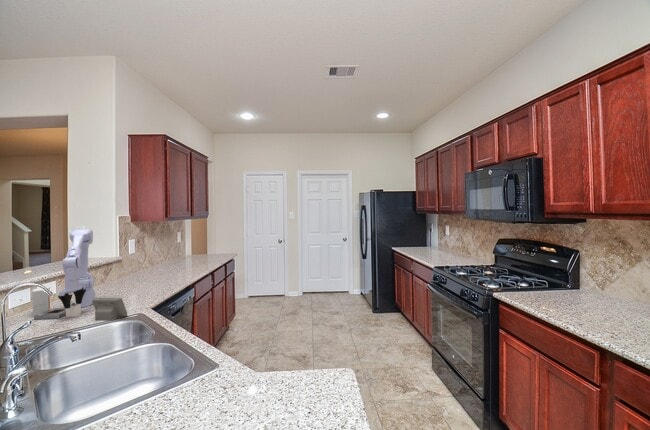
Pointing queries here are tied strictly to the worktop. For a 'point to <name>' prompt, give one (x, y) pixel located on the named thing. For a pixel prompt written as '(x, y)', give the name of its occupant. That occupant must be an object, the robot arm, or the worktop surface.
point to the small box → (40, 301)
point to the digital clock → (109, 308)
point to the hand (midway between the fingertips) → (73, 306)
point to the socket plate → (51, 314)
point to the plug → (73, 310)
